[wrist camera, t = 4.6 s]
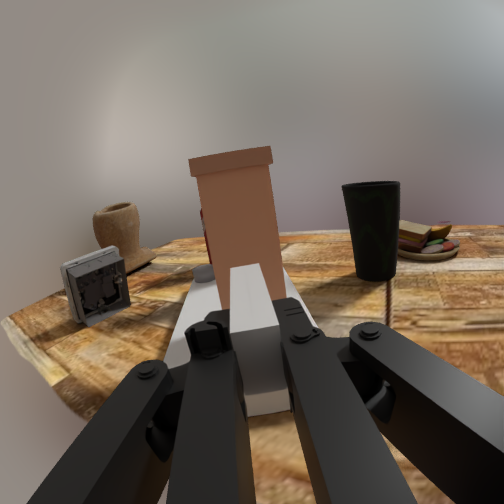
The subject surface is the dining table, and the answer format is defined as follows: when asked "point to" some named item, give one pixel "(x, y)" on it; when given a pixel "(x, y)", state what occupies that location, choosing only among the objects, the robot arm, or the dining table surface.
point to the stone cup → (122, 233)
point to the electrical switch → (96, 285)
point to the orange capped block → (240, 216)
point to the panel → (195, 310)
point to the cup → (374, 227)
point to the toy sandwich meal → (425, 242)
